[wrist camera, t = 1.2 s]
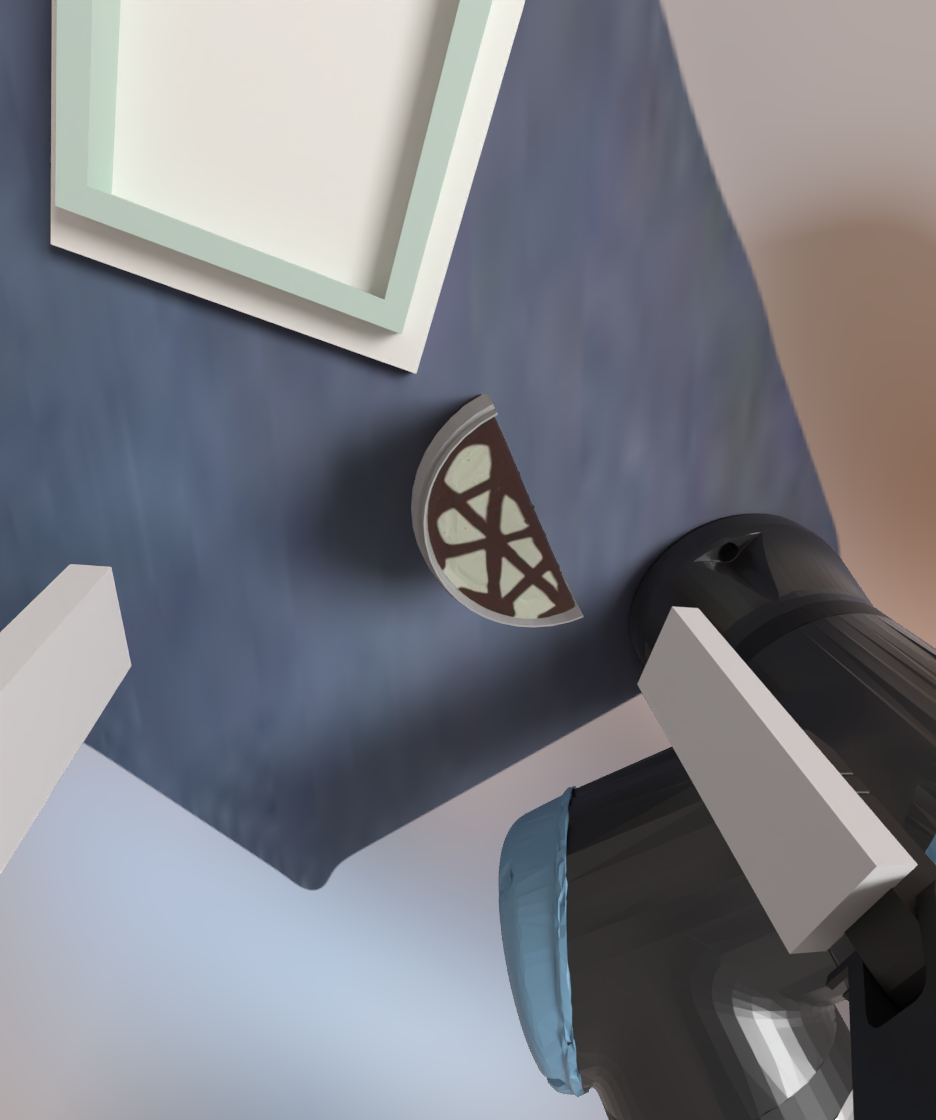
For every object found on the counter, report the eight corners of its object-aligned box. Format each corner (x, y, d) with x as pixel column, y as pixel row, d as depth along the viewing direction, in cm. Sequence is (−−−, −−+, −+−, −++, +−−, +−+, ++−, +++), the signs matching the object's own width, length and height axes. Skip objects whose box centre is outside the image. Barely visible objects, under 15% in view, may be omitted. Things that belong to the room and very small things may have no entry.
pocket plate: (566, -144, 21) (589, -214, 18) (416, 371, 29) (416, 378, 27) (77, -454, 17) (8, -606, 14) (65, 246, 25) (21, 239, 23)
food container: (376, 416, 30) (358, 465, 22) (470, 369, 30) (492, 400, 21) (463, 578, 36) (478, 670, 27) (544, 542, 35) (587, 624, 26)
